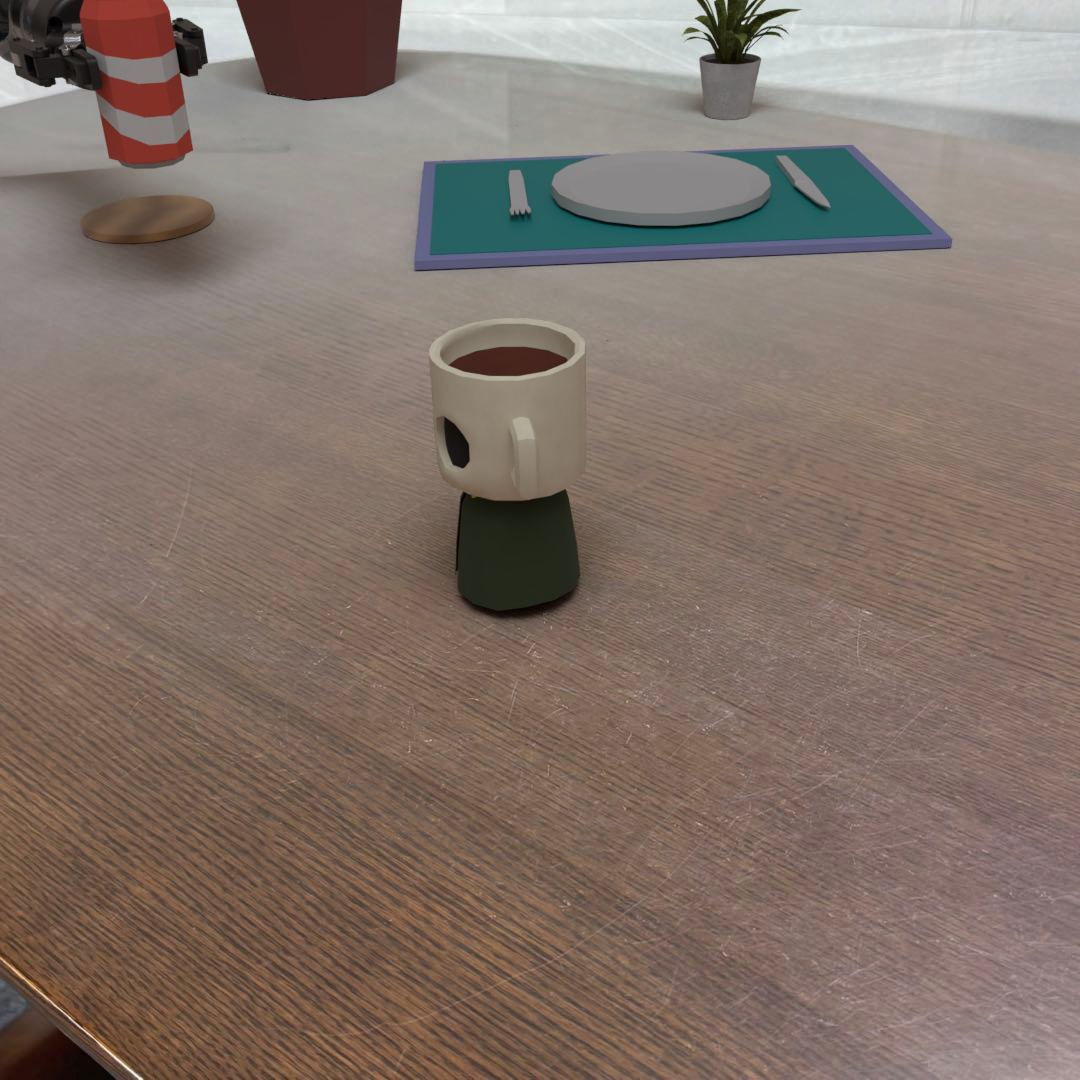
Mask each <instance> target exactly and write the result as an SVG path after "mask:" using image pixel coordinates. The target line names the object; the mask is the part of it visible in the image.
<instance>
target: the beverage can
mask: <svg viewBox="0 0 1080 1080" xmlns="http://www.w3.org/2000/svg"><path fill="white" fill-rule="evenodd" d="M80 21H81V25H82V30H83V35H84V40H85V45H86V49H87V52H88V53H90V54H92V55H93V56H95V57H96V59H97V62H98V66H99V70H100V75H101V80H102V85H103V89H101V90H95V91H94V92H95V97H96V103H97V106H98V111H99V116H100V117H99V118H100V120H101V126H102V130H103V136H104V140H105V145H106V150H107V154H108V159H110V160H113V161H117V162H118V163H119V164H120V165H121V166H122V167H125V168H129V169H133V170H142V169H143V170H147V169H149V170H150V169H153V170H155V169H160V168H165V167H171V166H174V165H177V164H178V163H180V162H182V161H184V160H185V157H186V156H187V154H189V153H192V152H193V151H194V148H193V147H194V146H193V139H192V135H191V128H190V122H189V117H188V111H187V107H186V106H187V105H186V101H185V100H186V99H185V94H184V89H183V88H184V87H183V82H182V76H181V75H182V74H181V73H180V69H179V64H178V58H177V52H176V46H175V40H174V34H173V28H172V18H171V12H170V9H169V6H168V5H167V3H166V2H165V0H84V1H83V4H82V7H81V11H80Z"/></svg>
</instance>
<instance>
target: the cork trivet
mask: <svg viewBox="0 0 1080 1080" xmlns="http://www.w3.org/2000/svg"><path fill="white" fill-rule="evenodd" d="M215 217H216V216H215V210H214V206H213V204H211V202H209V201H207V200H205V199H203V198H200V197H195V196H189V195H180V194H159V195H147V196H146V195H145V196H139V197H137V196H136V197H132V198H126V199H121V200H117V201H114V202H109V203H106V204H103V205H101V206H98V207H96V208H93V209H91V210H90V211H88V212H87V213H86V214H84V215H83V216H82V217H81V219H80V223H79V224H80V228H81V232H82V234H83V235H84V236H85V237H87V238H89V239H92V240H94V241H98V242H102V243H111V244H144V243H145V244H146V243H155V242H162V241H166V240H167V241H168V240H172V239H176V238H180V237H184V236H188V235H190V234H193V233H196V232H198V231H201V230H202V229H204V228H206V227H207V226H209V225H210V224H211V223H212V222H213V221H214V219H215Z"/></svg>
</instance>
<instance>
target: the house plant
mask: <svg viewBox="0 0 1080 1080" xmlns="http://www.w3.org/2000/svg"><path fill="white" fill-rule="evenodd" d="M749 1H750V0H727V4H726V0H713V5H714V8H715V13H716V17H715V14H714V11H713V7H712V6H711V3H710V2H709V0H696V2H697V3H698V4H699V6H700V7H701V9H703V11H704V12H705V15H703V14H701V15H698V16H695V17H694V20H695V21H697V22H699V23H701V24H702V25H703V26H705V28H707V29H708V31H709V33H710V34H709V33H707V32H704V31H702V30H700V29H698V28H696V27H691V26H689V27H687V28H685V30H684V31H683V33H682V35H681V37H683V36H684V35H686V34H693V33H700V32H701V33H703V35H704V36H705V37H706V38H705V37H701V36H689V37H688V38H686V39H685V40H684V42H683V43H685V42H687V41H690V40H694V39H699V40H700V39H701V40H704V41H707V42H708V43H709V44H710V45H711V47H712V50H713V52H714V53H713V52H712V53H707V54H704V55H701V56H700V57H699V59H698V60H699V70H700V79H701V89H702V90H701V91H702V100H703V101H702V102H703V109H704V115H705V117H707V118H711V119H715V120H727V121H728V120H740V119H745V118H747V117H749V115H750V112H751V107H752V103H753V99H754V94H755V91H756V90H755V89H756V86H757V81H758V76H759V72H760V68H761V63H762V57H760V56H758V55H756V54H753V53H747V52H749V50H750V49H751V48H752V47H753V46H755V44H756V43H757V42H758V41H759V40H760V39H761V38H763V37H764V36H777V37H779V38H781V39H782V40H783V41H785V40H784V38H783V36H782V35H781V33H779V32H778V31H777V32H776V31H770V30H771V29H776V30H780V31H783V32H784V33H786V34H787V35H789V32H788V31H787V30H786V29H785V28H784V27H781V24H776V25H769V26H765V27H763V25H765V24H766V23H768V22H769V21H771V20H773V19H776V18H779V17H781V16H783V15H786V14H788V13H794V12H796V13H797V12H799V11H803V9H801V8H778V9H772V10H768V11H765V12H763V13H756V12H757V11H758V9H759V8H760V7H761V6H762V5H763V4H764V3H765V2H766V1H767V0H760V1H759V0H753V1H752V2H751V3H750V4H749ZM758 1H759V2H758ZM756 3H757V4H756ZM748 4H749V5H748ZM753 7H754V8H753ZM750 11H751V12H750ZM749 12H750V14H749V15H748V16H747V14H748V13H749ZM716 19H717V20H716ZM751 19H752V20H751ZM743 22H744V23H743ZM762 27H763V28H762ZM765 30H766V31H765ZM763 31H765V32H763ZM711 35H712V36H711ZM757 38H758V39H757ZM755 39H756V41H754V42H753V40H755ZM752 42H753V43H752Z"/></svg>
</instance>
